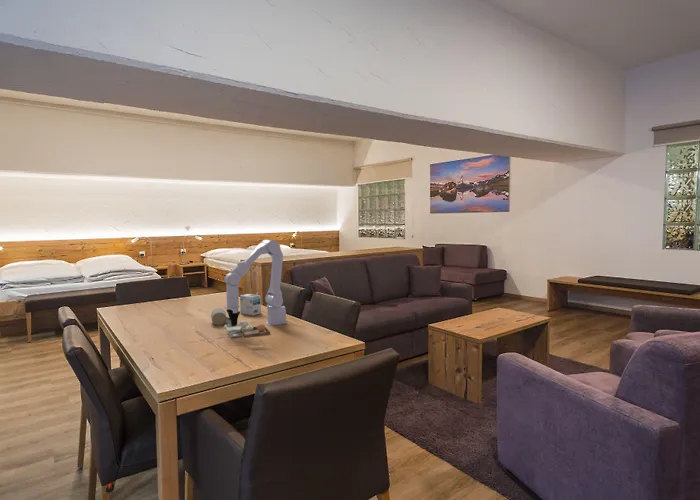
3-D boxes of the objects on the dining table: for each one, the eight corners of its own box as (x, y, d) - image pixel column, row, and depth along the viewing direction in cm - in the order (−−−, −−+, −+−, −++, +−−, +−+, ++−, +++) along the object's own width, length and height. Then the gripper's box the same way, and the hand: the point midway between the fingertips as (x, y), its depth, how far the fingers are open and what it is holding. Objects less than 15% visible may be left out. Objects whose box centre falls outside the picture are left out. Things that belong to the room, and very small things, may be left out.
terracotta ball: (264, 330, 202) (264, 322, 202) (266, 332, 199) (266, 324, 198) (256, 331, 201) (255, 323, 200) (257, 333, 197) (257, 325, 197)
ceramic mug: (211, 326, 211) (211, 312, 210) (211, 322, 218) (210, 308, 218) (233, 325, 214) (233, 310, 214) (231, 321, 222) (231, 307, 221)
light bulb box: (261, 313, 239) (261, 295, 238) (253, 315, 233) (252, 297, 232) (248, 311, 245) (248, 293, 244) (239, 313, 239) (239, 295, 238)
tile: (239, 333, 198) (239, 331, 198) (241, 338, 191) (241, 335, 191) (228, 334, 196) (228, 332, 196) (230, 339, 189) (230, 336, 189)
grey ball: (236, 325, 206) (236, 317, 206) (238, 327, 203) (237, 319, 202) (228, 326, 205) (228, 318, 204) (229, 328, 201) (229, 320, 201)
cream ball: (247, 326, 209) (246, 318, 208) (248, 328, 205) (248, 320, 205) (239, 327, 207) (238, 319, 207) (240, 329, 203) (240, 321, 203)
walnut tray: (264, 328, 206) (264, 325, 206) (270, 335, 195) (270, 331, 195) (240, 331, 201) (240, 328, 201) (244, 338, 190) (244, 334, 190)
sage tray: (248, 325, 213) (248, 322, 213) (253, 331, 202) (253, 327, 202) (224, 328, 208) (224, 324, 208) (228, 334, 197) (227, 330, 197)
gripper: (222, 295, 208) (223, 321, 209) (226, 300, 194) (227, 329, 196) (236, 294, 210) (237, 320, 212) (241, 299, 197) (242, 327, 198)
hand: (233, 324), depth 204 cm, fingers closed on grey ball, 4 cm apart
